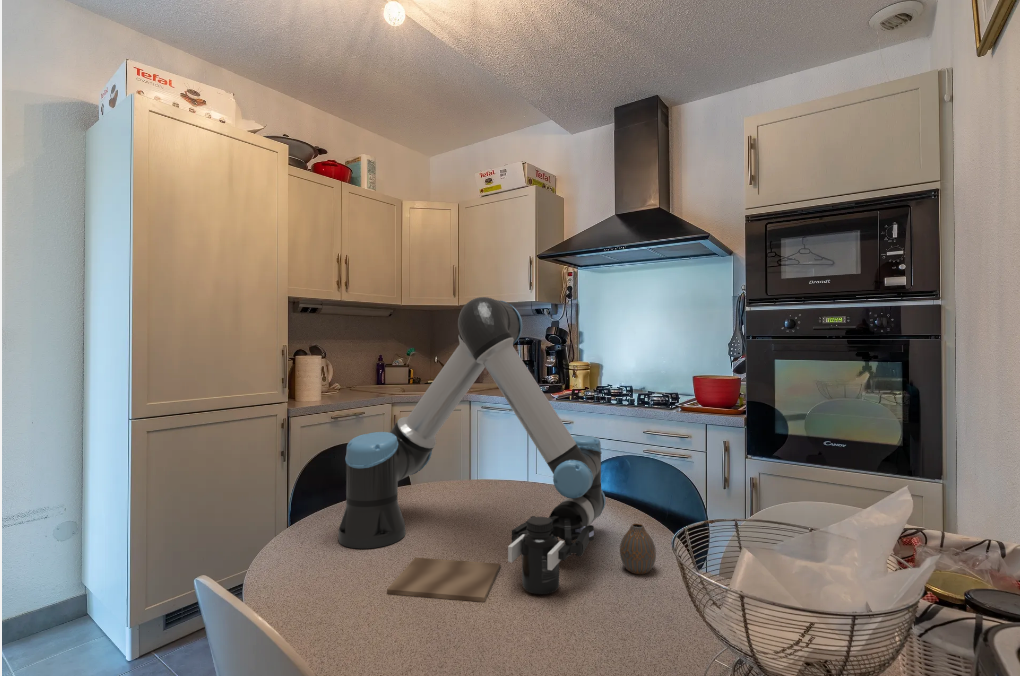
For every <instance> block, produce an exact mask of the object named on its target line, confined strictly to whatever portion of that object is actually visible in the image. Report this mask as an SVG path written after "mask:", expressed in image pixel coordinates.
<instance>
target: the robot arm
mask: <svg viewBox="0 0 1020 676" xmlns="http://www.w3.org/2000/svg"><path fill="white" fill-rule="evenodd" d="M523 326H524V325H523V319H522V316H521V314H520V312H519V311H518V310H517V309H516V308H515V307H514V306H513V305H512V304H511V303H508V302H507V301H504V300H499V299H495V298H491V297H488V296H480V297H479V296H478V297H476V298H475V297H474V298H473V299H471V300H469V301H468V302H466V303H465V305H463V307H462V308H461V309H460V313H459V316H458V319H457V327H458V328H457V329H458V331H459V334H458V342H459V345H457V347H456V349H455V350H454V351H453V353H452V355H451V356H450V357H449V359H448V360H446V361H447V362H446V363H445V364H444V366H443V367H442V368H441V370H440V371H439V373H437V376H436V377H435V378H434V380H433V381H432V382H431V384H430V385H429V387H428V388H427V389H426V391H425V392H424V394H423V395H422V396H421V398H420V400H418V402H417V404H416V405H415V406H414V408H413V409H412V410H411V411H410V413H409V415H408V416H403V417H399V419H398V420H397V422H396V423H395V424H394V426H393V427H392V429H391V430H390V431H389V432H387V431H377V432H376V431H375V432H369V433H364V434H360V435H357V436H355V437H353V438H352V439H350V440H349V441H348V442H347V445H346V452H345V453H346V455H345V459H344V460H345V474H346V475H345V481H346V483H345V484H346V485H345V490H346V491H345V495H346V497H345V498H346V500H345V501H346V502H345V503H346V504H345V505H346V506H345V509H344V512H343V515H342V517H341V518H342V519H341V521H340V524H339V528H338V534H337V536H338V537H337V538H338V543H339V544H340V545H342V546H344V547H346V548H350V549H361V550H362V549H375V548H382V547H386V546H390V545H393V544H394V543H395V544H396V543H397V542H399V541H401V540H402V539H403V538H404V537H405V536H406V523H405V519H404V516H403V513H402V511H401V508H400V504H399V502H398V500H399V499H398V486H399V485H398V483H399V481H401V480H403V479H405V478H407V477H409V476H413V475H416V474H417V473H419V472H420V471H421V470H423V469H424V467H426V466H427V464H429V462H430V459H431V458H432V457H431V456H432V455H433V453H432V452H433V449H434V448H435V446H436V445H437V439H436V435H437V434H438V433H439V431H440V430H441V428H442V427H443V426H444V424H445V423H446V422H447V421H448V419H449V418H450V416H451V415H452V414H453V412H454V411H455V409H456V408H457V407H458V405H459V404H460V402H461V401H462V400H463V398H464V397H465V396H466V395H467V393H468V392H469V390H470V389H471V387H472V386H473V385H474V383H475V382H476V380H477V379H478V377H479V376H480V375H481V373H482V372H483V371H484V370H485V369H486V371H487V372H488V374H489V375H490V377H491V378H492V379H493V381H494V383H495V385H496V386H497V387H498V389H499V392H501V394H502V396H503V397H504V399H505V401H506V402H507V403H508V405H509V406H510V408H511V410H512V411H513V413H514V414H515V416H516V417H517V419H518V420H519V422H520V424H521V425H522V427H523V429H524V430H525V431H526V433H527V435H528V436H529V438H530V439H531V441H532V443H533V444H534V446H535V447H536V449H537V450H538V452H539V453H540V455H541V456H542V458H543V460H544V462H546V465H547V466H548V467H549V470H550V471H551V472H552V474H553V477H552V478H553V479H552V480H553V485H554V488H555V490H556V491H557V492H558V494H560V495H561V496H563V497H564V498H565V499H564V500H562V501H561V502H560V503H558V505H557V506H555V507H554V508H553V509H552V510H551V513H550V515H549V517H548V516H547V518H550V519H552V521H553V532H552V533H553V534H555V535H556V536H557V538H558V539H560V540H558V541H559V542H558V544H557V545H556V546H555V547H554V548H553V549H552V550H551V551H550V552H549V553H548V570H553V568H554V567H555V566H556V565H557V564H558V563H559V564H560V562H561V561H565V560H566V559H567V558H568V557H570V556H572V554H575V556H576V557H582V556H583V555H584V553H585V550H587V549H586V548H587V547H588V544H589V543H590V542H591V541H592V540H594V539H595V527H594V525H592V524H593V522H594V521H595V520H596V519H597V518H599V517H600V516H601V514H602V512H603V510H604V509H605V507H606V502H607V501H606V496H605V493H604V491H603V489H602V453H603V452H602V446H601V440H600V438H597V437H596V436H591V435H577V436H576V435H575V436H572V434H571V433H570V432H569V430H568V428H567V427H566V425H565V424H564V423H563V421H562V419H561V418H560V416H559V415H558V414H557V412H556V410H555V409H554V407H553V406H552V404H551V402H550V401H549V399H548V398H547V396H546V395H545V393H544V392H543V390H542V388H541V387H540V385H539V384H538V383H537V381H536V379H535V378H534V377H533V374H532V373H531V372H530V370H529V369H528V367H527V366H526V364H525V362H524V361H523V359H522V358H521V356H520V355H519V354H518V352H517V350H516V349H515V347H514V345H515V343H517V342H518V340H519V339H520V337H521V335H522V333H523ZM532 517H536V515H532V516H530V518H532ZM527 533H528V532H527V520H526V521H525V522H523V523H521V524H520V525H518V526H516V527H515V528H513V529H512V530H511V542H510V544H509V545H508V546H507V562H508V563H514V561H516V559H517V558H518V557H520V556H522V538H523V537H524V535H525V534H527ZM574 541H575V542H574Z"/></svg>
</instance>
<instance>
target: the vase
mask: <svg viewBox="0 0 1020 676" xmlns="http://www.w3.org/2000/svg"><path fill="white" fill-rule="evenodd" d="M656 549H657V548H656V545H655V542H654V539H653V538H652V536H651V535H650V534H649V533H648V531H647V530H646V528H645V526H644V525H643V524H642V523H638V522H637V523H635V522H634V523H632V524H631V525H630V527H629V529H628V530H627V532H625V534H624V535H623V537H622V539H621V541H620V546H619V557H620V559H621V562H622V565H623V567H624V568H625V569H626V570H627V571H628V572H630V573H632V574H635V575H636V574H637V575H644V574H645V573H646V574H648V573H649V572H650V571H651V570H652V569H653V568H654V565H655V563H656V559H657V551H656ZM646 574H645V575H646Z"/></svg>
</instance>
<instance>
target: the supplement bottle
mask: <svg viewBox="0 0 1020 676" xmlns="http://www.w3.org/2000/svg"><path fill="white" fill-rule="evenodd" d="M531 517H532V516H531ZM526 521H527V532H528V533H527V534H525V535H524V537H523V538H522V554H521V577H522V578H521V579H522V580H521V581H522V584H521V585H522V587H523V589H524V590H525V591H526V592H529V593H531V594H535V595H548V594H549V595H550V594H552V593H554V592H556V591H557V590H558V589H559V588H560V562H559V563H558V564H557V565H556V566H555V567H554V568H553V570H548V553H549V552H550V551H551V550H552V549H553V548H554V547H555V546H556V545H557V544H558V542H559V541H560V540H559V537H557V536H556V535H555V534H553V533H552V532H553V521H552V519H550V518H548V516H547V517H546V516H535V517H532V518H528V519H526Z"/></svg>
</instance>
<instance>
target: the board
mask: <svg viewBox="0 0 1020 676" xmlns="http://www.w3.org/2000/svg"><path fill="white" fill-rule="evenodd" d="M501 567H502V566H501V563H499V562H498V563H497V562H484V561H483V562H482V561H469V560H468V561H467V560H454V559H439V558H430V557H429V558H428V557H425V558H424V557H415V558H414V559H413V560H411V562H409V564H407V566H406V567H405V568H404V570H402V571H401V572H400V574H399V575H398V577H396V578H395V580H394V581H393V582H392V583H391V584H389V586H388V588H387V589H386V594H387V595H396V596H407V597H419V598H432V599H444V600H453V601H465V602H466V601H467V602H477V603H485V602H486V601H487V597H488V596H489V594H490V591H491V590H492V587H493V585H494V582H495V581H496V578H497V576H498V575H499V572H500V570H501Z"/></svg>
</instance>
